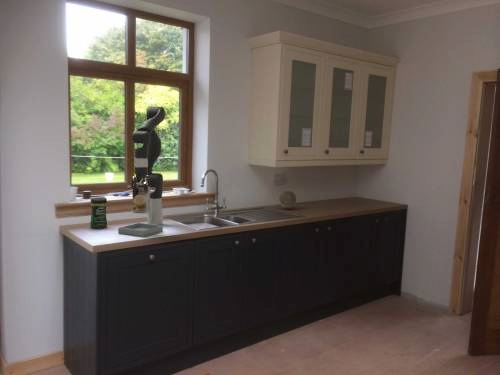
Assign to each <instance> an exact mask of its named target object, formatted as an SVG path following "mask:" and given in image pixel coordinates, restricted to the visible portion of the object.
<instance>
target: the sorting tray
mask: <svg viewBox="0 0 500 375" xmlns="http://www.w3.org/2000/svg"><path fill="white" fill-rule="evenodd" d="M163 228H164V225H162V224H161V225H153V224H147V223H145V222H144V223H143V222H136V223H132V224H128V225H124V226H120V227H118V228H117V230H118V231H117V232H118V234H119V235H124V236H125V235H126V236H131V237H132V236H133V237H140V238H146V237H149V236H152V235H157V234H159V233H162V232H164V231H163V230H164V229H163Z"/></svg>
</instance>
